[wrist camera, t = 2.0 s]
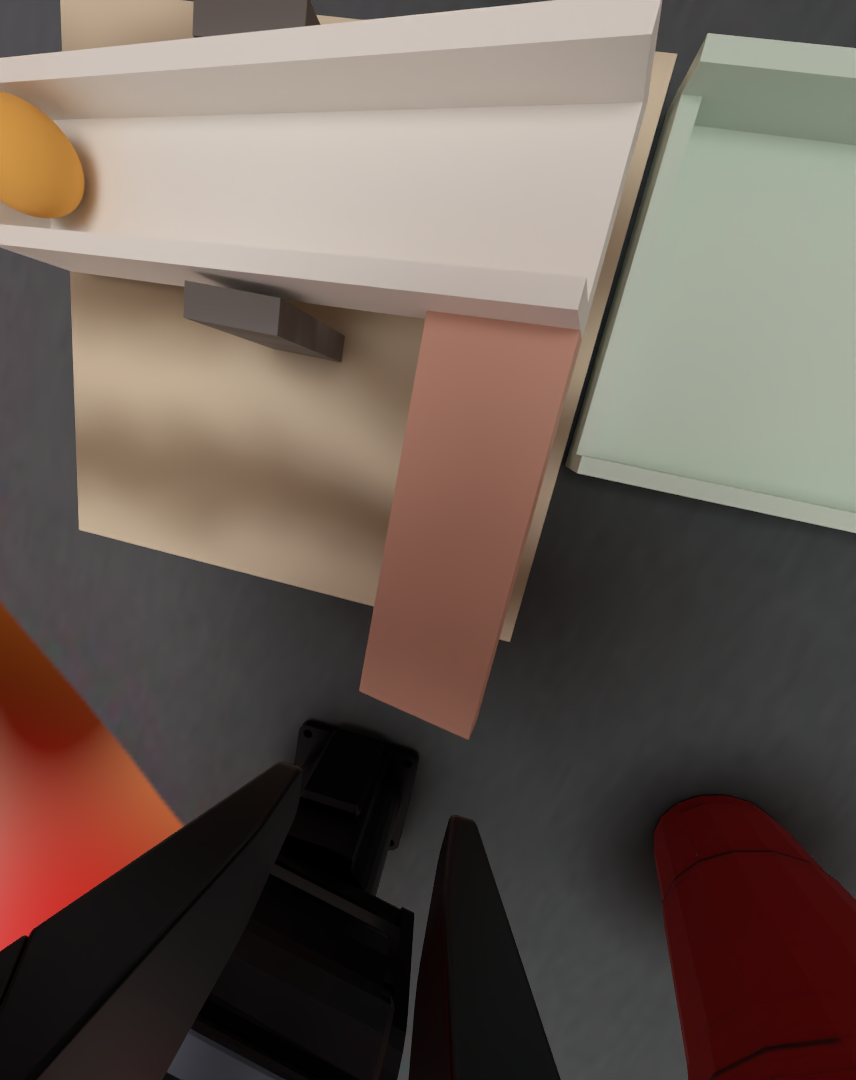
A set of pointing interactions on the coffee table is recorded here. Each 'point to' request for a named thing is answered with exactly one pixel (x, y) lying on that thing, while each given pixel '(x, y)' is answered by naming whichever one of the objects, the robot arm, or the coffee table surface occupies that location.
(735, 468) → the tray
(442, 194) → the lever
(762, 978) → the plastic cup
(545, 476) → the lever stand
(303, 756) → the robot arm
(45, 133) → the ball
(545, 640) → the coffee table surface
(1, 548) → the coffee table surface
